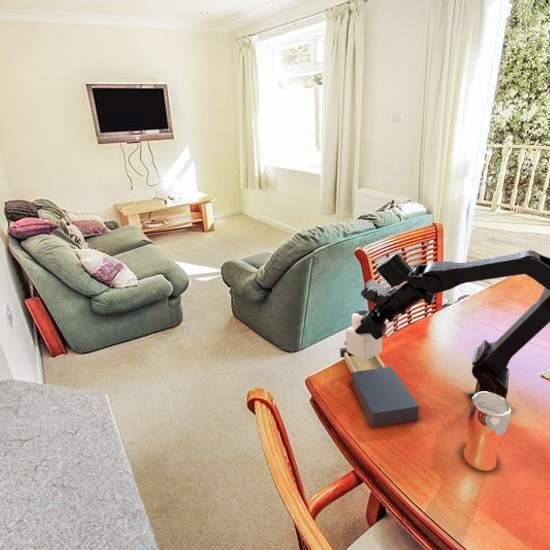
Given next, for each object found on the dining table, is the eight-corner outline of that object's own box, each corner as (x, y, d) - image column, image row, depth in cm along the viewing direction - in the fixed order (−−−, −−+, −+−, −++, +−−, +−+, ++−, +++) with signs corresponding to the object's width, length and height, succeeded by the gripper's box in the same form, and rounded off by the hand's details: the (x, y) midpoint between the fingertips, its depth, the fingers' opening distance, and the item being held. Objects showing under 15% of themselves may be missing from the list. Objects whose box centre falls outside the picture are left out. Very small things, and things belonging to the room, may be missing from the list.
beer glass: (453, 451, 80) (463, 397, 74) (478, 440, 82) (490, 386, 76) (480, 478, 74) (493, 421, 68) (506, 465, 76) (521, 409, 70)
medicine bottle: (363, 342, 110) (362, 305, 106) (382, 351, 104) (382, 313, 100) (346, 351, 107) (344, 313, 103) (365, 361, 101) (363, 322, 97)
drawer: (336, 348, 116) (336, 341, 115) (367, 343, 117) (367, 336, 116) (355, 387, 99) (356, 379, 98) (391, 381, 100) (392, 373, 99)
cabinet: (351, 384, 102) (351, 372, 100) (390, 378, 103) (391, 366, 101) (372, 427, 88) (372, 413, 86) (417, 419, 89) (418, 406, 87)
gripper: (391, 261, 101) (352, 290, 111) (369, 289, 87) (326, 320, 97) (419, 292, 100) (377, 319, 110) (402, 325, 86) (355, 353, 96)
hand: (359, 326), depth 103 cm, fingers closed on medicine bottle, 6 cm apart
